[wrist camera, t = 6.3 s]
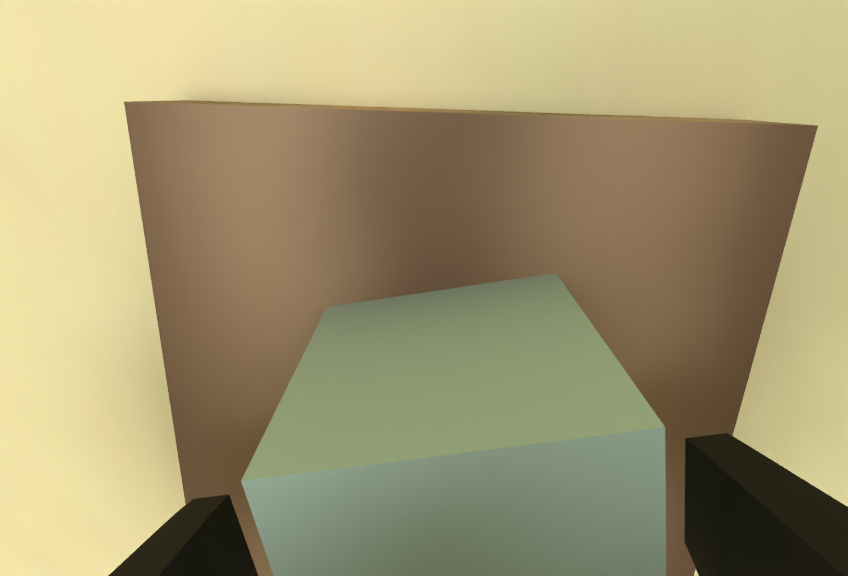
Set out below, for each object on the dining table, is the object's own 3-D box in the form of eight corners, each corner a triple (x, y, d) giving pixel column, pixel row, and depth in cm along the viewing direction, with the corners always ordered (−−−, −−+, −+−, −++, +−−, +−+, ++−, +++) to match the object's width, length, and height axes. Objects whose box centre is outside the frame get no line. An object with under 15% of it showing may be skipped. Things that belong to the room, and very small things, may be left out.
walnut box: (726, 118, 12) (817, 125, 9) (636, 532, 16) (679, 626, 13) (196, 99, 12) (124, 101, 9) (242, 518, 16) (201, 608, 13)
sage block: (555, 272, 10) (665, 426, 5) (571, 464, 12) (667, 715, 7) (326, 306, 10) (241, 481, 6) (370, 489, 12) (331, 746, 7)
